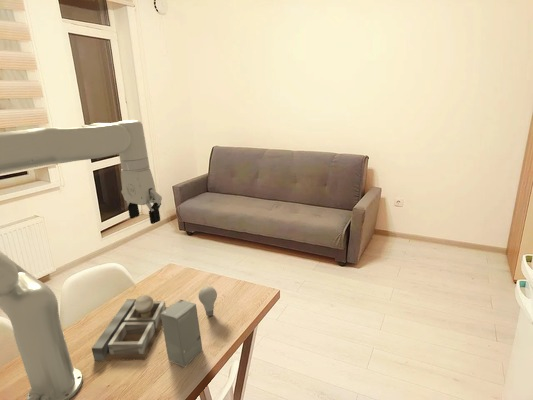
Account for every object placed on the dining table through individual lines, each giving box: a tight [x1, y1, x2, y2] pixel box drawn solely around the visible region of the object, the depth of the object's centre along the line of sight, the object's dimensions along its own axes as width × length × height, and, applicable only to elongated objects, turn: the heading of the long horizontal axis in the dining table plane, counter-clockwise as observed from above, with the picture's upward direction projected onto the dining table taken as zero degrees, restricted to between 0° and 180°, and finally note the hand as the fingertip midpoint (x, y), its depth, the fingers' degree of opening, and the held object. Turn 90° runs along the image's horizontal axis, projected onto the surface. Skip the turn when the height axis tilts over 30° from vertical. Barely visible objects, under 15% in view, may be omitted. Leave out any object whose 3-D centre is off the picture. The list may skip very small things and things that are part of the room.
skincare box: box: [160, 299, 203, 368], centre depth 97 cm, size 8×7×16 cm
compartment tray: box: [91, 294, 169, 362], centre depth 108 cm, size 24×15×10 cm, turn 178°
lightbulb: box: [197, 285, 218, 317], centre depth 114 cm, size 6×6×11 cm
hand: (145, 219), depth 103 cm, fingers open, 9 cm apart
